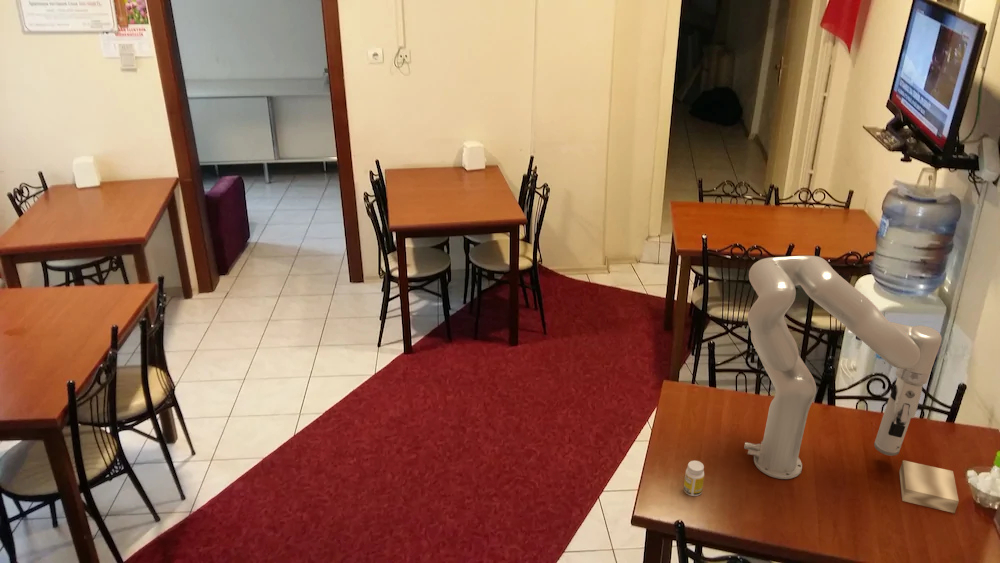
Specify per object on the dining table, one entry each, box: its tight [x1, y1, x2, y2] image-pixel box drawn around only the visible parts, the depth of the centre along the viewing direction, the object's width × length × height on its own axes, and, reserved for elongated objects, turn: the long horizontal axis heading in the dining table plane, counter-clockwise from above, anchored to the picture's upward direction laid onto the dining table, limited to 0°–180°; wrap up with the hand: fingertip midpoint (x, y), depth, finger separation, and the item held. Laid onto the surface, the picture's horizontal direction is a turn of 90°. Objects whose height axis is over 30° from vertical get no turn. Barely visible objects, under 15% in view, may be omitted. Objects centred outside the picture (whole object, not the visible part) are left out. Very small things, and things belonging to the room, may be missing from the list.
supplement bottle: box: [683, 460, 705, 497], centre depth 199 cm, size 5×5×8 cm
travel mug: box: [873, 384, 912, 457], centre depth 203 cm, size 6×7×20 cm
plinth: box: [898, 459, 960, 514], centre depth 199 cm, size 12×12×4 cm
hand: (894, 427), depth 204 cm, fingers closed on travel mug, 6 cm apart
